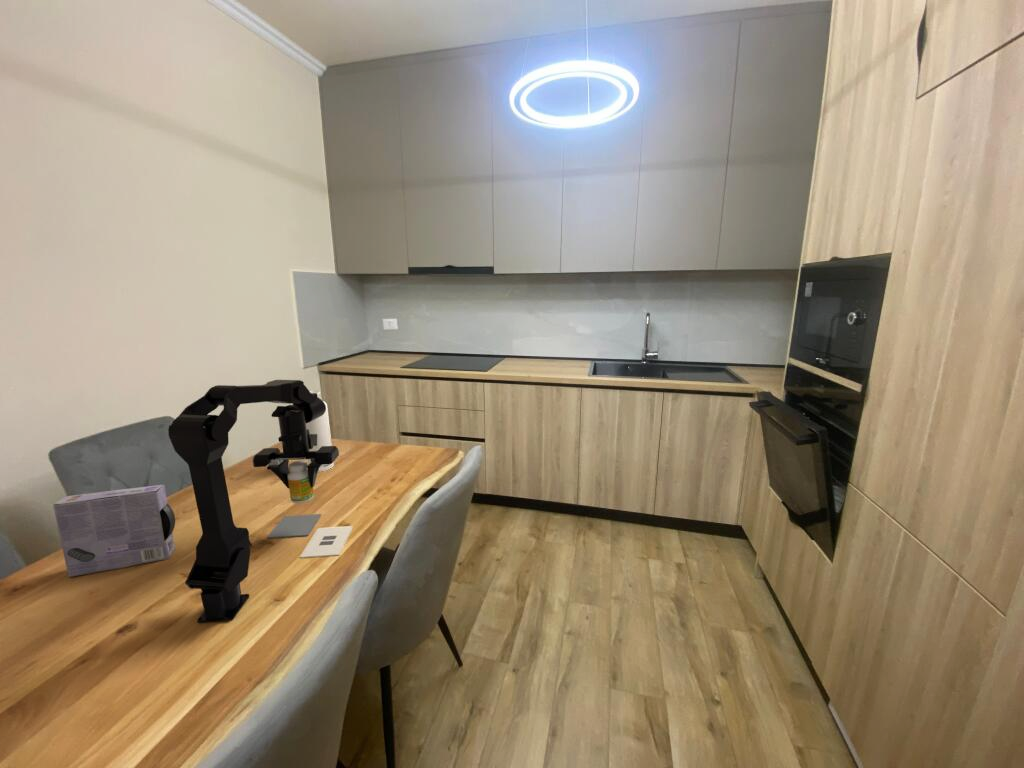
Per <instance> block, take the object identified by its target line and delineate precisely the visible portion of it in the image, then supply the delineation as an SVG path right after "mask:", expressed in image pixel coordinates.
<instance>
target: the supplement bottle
mask: <svg viewBox="0 0 1024 768" xmlns="http://www.w3.org/2000/svg"><path fill="white" fill-rule="evenodd" d="M307 466H308V462H307V461H306V460H296V461H293V462H291V463H289V464H288V468H289V474H288V483H289V488H288V489H289V496H290V497H289V498H290V501H291V503H294V504H302V503H303V504H304V503H306V502H309V501H311V500H312V499H313V498H314V497H315V489H314V487H311V486H310V482H309V476H308V470H307Z"/></svg>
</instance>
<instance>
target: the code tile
mask: <svg viewBox="0 0 1024 768" xmlns="http://www.w3.org/2000/svg"><path fill="white" fill-rule="evenodd" d="M353 528H354V526H353V525H347V526H332V527H331V526H330V527H329V526H328V527H318V528H317V529H316V530H315V532H314V534H313V535H312V537H311V538H310V540H309V542H308V543H307V544H306V546H305V548H304V549H303V551H302V553H301V554H300V556H299V559H303V558H304V559H306V558H307V559H308V558H319V557H320V558H321V557H334V556H340V555H341V553H342V551H343V549H344V546H345V545H346V542H347V541H348V538H349V536H350V534H351V533H352V530H353Z"/></svg>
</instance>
